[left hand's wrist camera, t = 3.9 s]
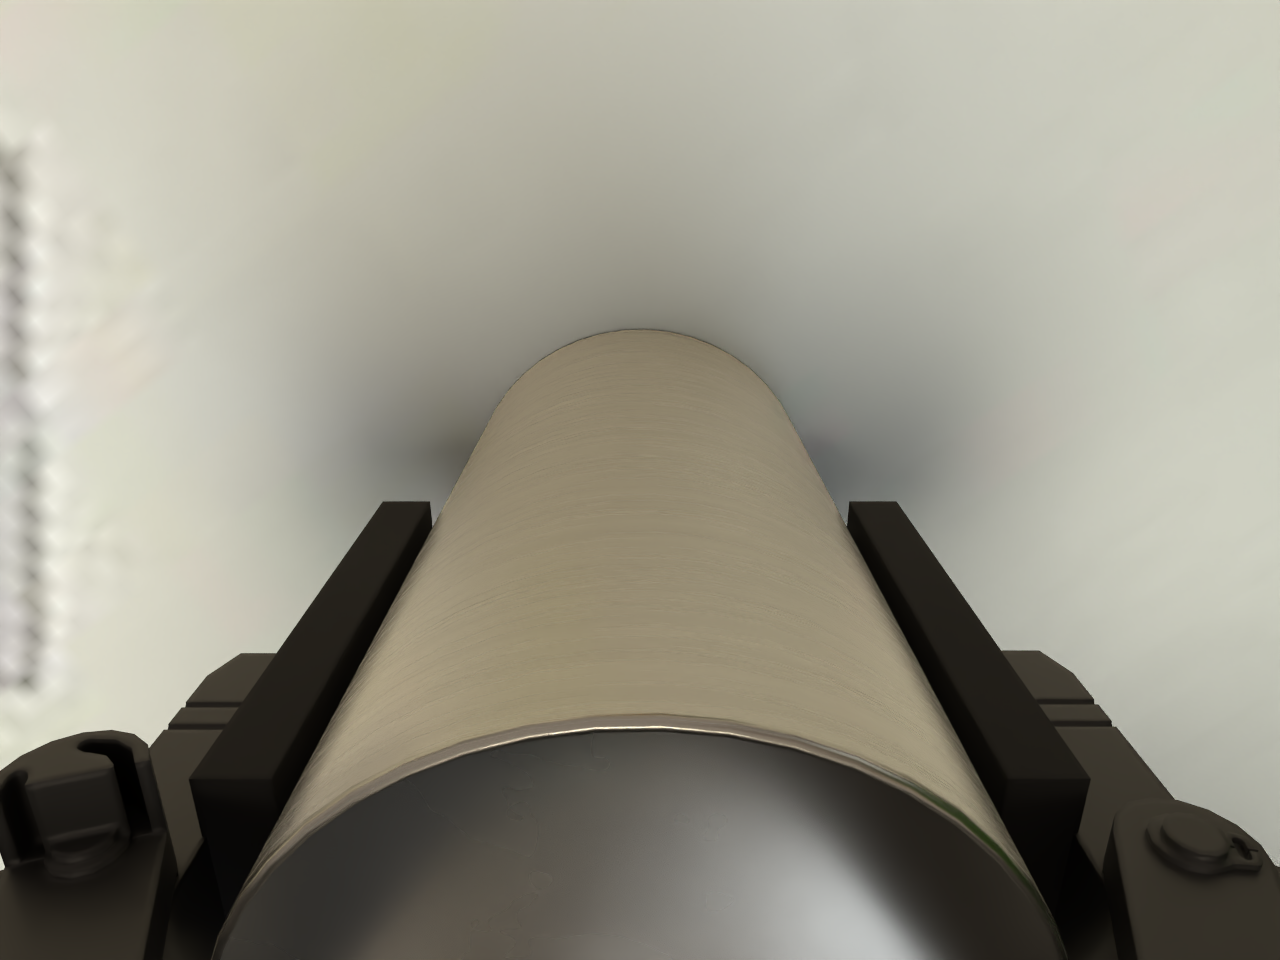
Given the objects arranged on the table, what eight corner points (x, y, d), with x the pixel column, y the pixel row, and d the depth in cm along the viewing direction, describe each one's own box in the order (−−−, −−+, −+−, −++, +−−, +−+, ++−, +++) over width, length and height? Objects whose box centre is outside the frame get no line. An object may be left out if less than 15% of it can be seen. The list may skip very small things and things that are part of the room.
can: (840, 360, 17) (1231, 799, 6) (763, 653, 19) (931, 1366, 8) (495, 300, 17) (191, 647, 5) (460, 607, 19) (200, 1291, 8)
